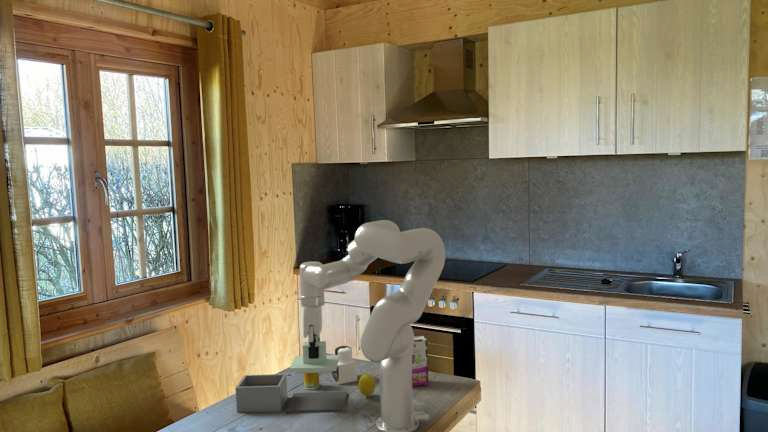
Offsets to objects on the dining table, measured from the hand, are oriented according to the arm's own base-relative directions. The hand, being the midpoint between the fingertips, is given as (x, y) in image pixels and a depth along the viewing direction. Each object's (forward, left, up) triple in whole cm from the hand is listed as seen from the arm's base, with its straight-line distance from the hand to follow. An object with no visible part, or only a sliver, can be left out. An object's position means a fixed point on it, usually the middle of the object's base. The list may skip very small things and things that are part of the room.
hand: (314, 355), depth 187 cm
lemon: (-16, -4, -16) cm, 23 cm away
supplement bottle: (+4, -14, -16) cm, 22 cm away
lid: (0, 0, -3) cm, 3 cm away
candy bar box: (-31, -14, -16) cm, 38 cm away
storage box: (+18, 0, -16) cm, 24 cm away
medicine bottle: (-7, -20, -16) cm, 27 cm away
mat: (0, 0, -16) cm, 16 cm away
